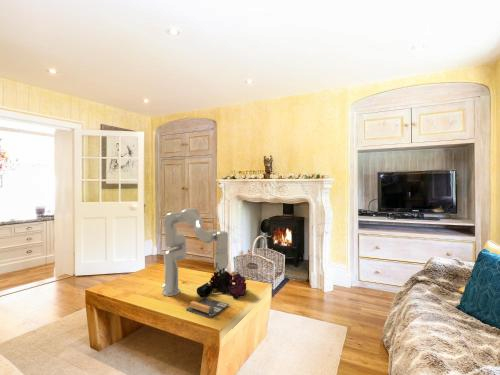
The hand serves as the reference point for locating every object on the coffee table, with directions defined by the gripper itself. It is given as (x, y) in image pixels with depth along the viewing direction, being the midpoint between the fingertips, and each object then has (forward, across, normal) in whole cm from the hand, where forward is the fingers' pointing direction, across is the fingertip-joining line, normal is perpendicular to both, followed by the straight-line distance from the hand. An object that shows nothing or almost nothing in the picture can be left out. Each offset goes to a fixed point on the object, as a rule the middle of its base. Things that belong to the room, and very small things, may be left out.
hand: (221, 278), depth 168 cm
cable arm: (+17, +12, -6) cm, 22 cm away
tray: (+19, +5, -7) cm, 21 cm away
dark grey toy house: (+19, -10, -22) cm, 30 cm away
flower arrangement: (+19, -23, -9) cm, 31 cm away
